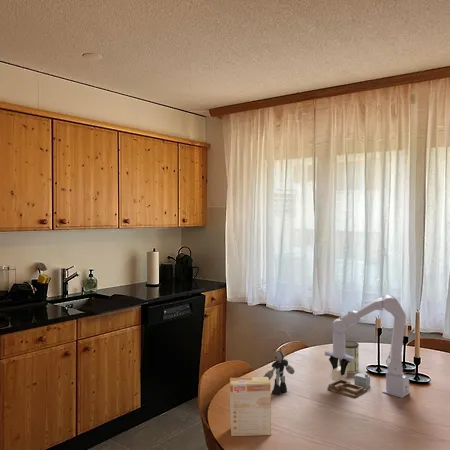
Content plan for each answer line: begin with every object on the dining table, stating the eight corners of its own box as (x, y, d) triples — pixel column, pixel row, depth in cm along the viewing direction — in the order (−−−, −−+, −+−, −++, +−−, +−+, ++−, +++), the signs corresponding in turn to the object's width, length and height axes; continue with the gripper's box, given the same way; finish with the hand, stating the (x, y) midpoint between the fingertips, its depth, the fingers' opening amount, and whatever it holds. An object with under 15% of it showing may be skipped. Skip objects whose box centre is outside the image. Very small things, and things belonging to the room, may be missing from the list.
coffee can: (337, 366, 241) (336, 340, 240) (356, 367, 240) (356, 340, 239) (340, 373, 230) (340, 346, 230) (360, 373, 229) (360, 346, 229)
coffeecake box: (269, 426, 172) (268, 376, 172) (271, 435, 165) (271, 383, 165) (230, 427, 172) (229, 377, 171) (231, 436, 164) (230, 384, 164)
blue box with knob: (370, 386, 212) (369, 373, 212) (365, 388, 209) (365, 375, 209) (358, 383, 216) (358, 370, 216) (354, 385, 214) (354, 372, 213)
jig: (367, 391, 206) (367, 386, 206) (354, 398, 198) (354, 393, 198) (340, 383, 216) (340, 378, 216) (327, 389, 209) (327, 384, 209)
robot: (267, 399, 198) (267, 354, 198) (260, 396, 202) (259, 352, 201) (298, 388, 210) (297, 346, 210) (290, 385, 214) (290, 344, 214)
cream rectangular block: (347, 376, 212) (347, 367, 212) (338, 381, 207) (338, 371, 206) (341, 375, 214) (341, 365, 214) (332, 379, 209) (332, 369, 209)
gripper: (357, 346, 208) (357, 375, 208) (330, 340, 218) (330, 368, 218) (349, 349, 203) (349, 379, 203) (322, 343, 213) (322, 371, 213)
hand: (339, 373), depth 210 cm, fingers closed on cream rectangular block, 3 cm apart
